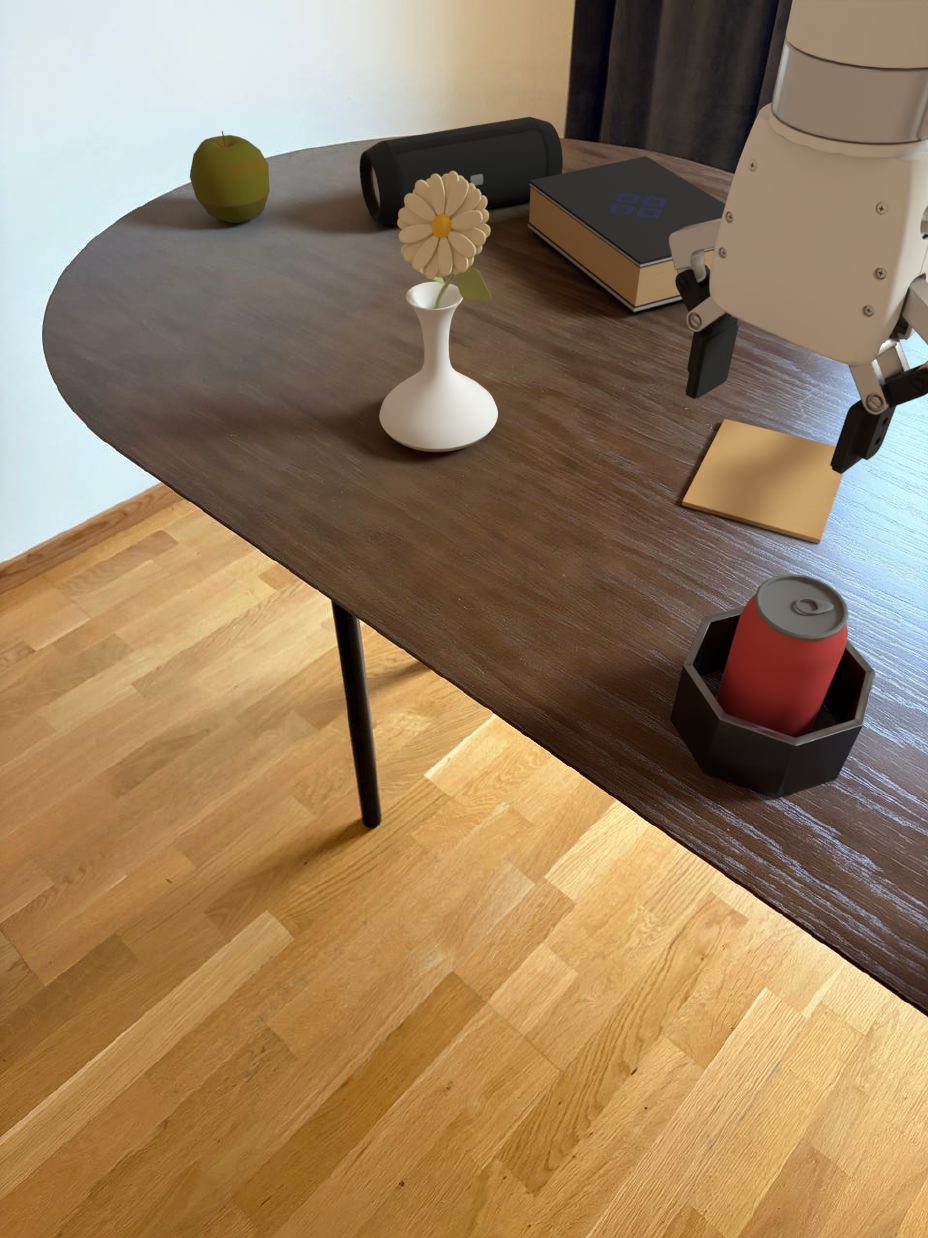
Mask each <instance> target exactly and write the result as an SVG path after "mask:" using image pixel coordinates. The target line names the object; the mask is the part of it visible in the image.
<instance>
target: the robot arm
mask: <svg viewBox="0 0 928 1238" xmlns="http://www.w3.org/2000/svg"><path fill="white" fill-rule="evenodd" d="M782 46H783V47H782V50H781V56H780V60H779V64H778V65H779V66H778V69H777V76H776V80H775V84H774V90H773V93H772V94H773V95H772V100H771V102H770V103H768V104H765V106H763V107H762V108H761V109H759V111H758V114H757V116H756V118H755V120H754V123H753V125H752V127H751V130H750V132H749V134H748V137H747V139H746V142H745V144H744V147H743V149H742V152H741V155H740V157H739V159H738V163H737V166H736V169H735V171H734V174H733V178H732V181H731V184H730V187H729V191H728V194H727V198H726V201H725V203H724V204H725V208H724V212H723V215H722V218H720V219H715V220H711V221H707V222H703V223H698V224H694V225H690V226H686V227H684V228H682V229H680V230H678V231H676V232H674V233H672V234H671V235H670V236H669V246H670V250H671V255H672V259H673V264H674V268H675V270H677V273H678V275H677V276H676V280H675V284H676V287H677V289H678V291H679V293H680V296H681V298H682V300H681V301H682V302H683V304H684V306H685V308H686V310H687V312H688V313H687V314H686V317H685V322H686V323H685V324H686V325H687V327H688V329H689V330H691V331H692V332H693V334H692V339H691V345H690V351H689V357H688V362H687V368H686V370H687V372H688V376H687V382H686V388H685V396H687V397H689V398H691V399H693V400H696V399H700V398H702V397H703V396H705V395H706V394H708V393H709V392H711V391H713V390H714V389H716V388H717V387H719V386H721V385H723V384H724V383H726V382H727V380H728V377H729V372H730V370H731V369H730V368H731V363H732V359H733V354H734V350H735V346H736V342H737V341H736V340H737V337H738V333H739V332H738V331H739V324H738V322H739V320H740V321H743V322H745V323H747V324H750V325H751V326H754V327H756V328H758V329H761V330H763V331H764V332H767V333H770V334H772V335H774V336H776V337H779V338H780V339H783V340H785V341H787V342H790V343H792V344H795V345H796V346H799V347H802V348H803V349H806V350H808V351H811V352H812V353H815V354H817V355H819V356H822V357H824V358H827V359H830V360H832V361H833V362H837V363H840V364H843V365H845V366H846V365H847V366H848V368H849V369H848V370H849V371H850V374H851V377H852V379H853V381H854V385H855V387H856V390H857V392H858V395H859V398H860V399H859V400H857V401H856V402H854V403H853V404H852V405H851V406H850V407H849V408H848V410H847V412H846V415H845V418H844V421H843V423H842V424H843V425H842V427H841V430H840V433H839V435H838V439H837V442H836V445H835V446H836V448H835V451H834V454H833V457H832V460H831V463H830V466H832V470H834V471H836V472H838V473H840V474H843V475H844V473H845V472H847V471H848V470H849V469H851V468H852V467H853V466H855V465H856V464H858V463H859V462H861V460H865V461H869V460H870V459H872V458H873V457H874V456H876V454H877V453H878V452H879V450H880V449H881V447H882V445H883V443H884V441H885V439H886V435H887V433H888V430H889V428H890V424H891V422H892V419H893V417H894V414H895V411H896V409H897V406H901V405H902V404H906V403H908V402H911V401H914V400H916V399H919V398H922V397H925V396H926V395H928V360H926V362H924V363H922V364H920V365H919V364H918V365H917V366H914V367H912V368H910V364H909V361H908V359H907V357H906V353H905V351H904V348H903V345H902V343H901V341H902V340H905V341H908V340H909V339H910V338H911V337H912V336H914V335H915V334H917V335H918V336H919V337H920V338H921V339H922V341H923V342H924V343H925V344H926V345H927V346H928V0H792V2H791V7H790V12H789V17H788V22H787V26H786V32H785V37H784V42H783V45H782ZM710 248H715V249H714V253H713V259H712V264H711V272H710V269H709V268H708V266H706V265H705V264H704V260H705V257H704V250H705V249H710Z"/></svg>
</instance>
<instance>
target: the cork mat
mask: <svg viewBox="0 0 928 1238" xmlns="http://www.w3.org/2000/svg"><path fill="white" fill-rule="evenodd" d="M835 448H836V445H833V444H829V443H826V442H825V443H824V442H820V441H818V440H817V441H816V440H813V439H808V438H804V437H801V436H796V435H793V434H788V433H785V432H780V431H776V430H772V429H768V428H764V427H760V426H755V425H752V424H748V423H744V422H739V421H737V420H732V419H728V418H723V421H722V423H721V425H720V426H719V428H718V430H717V432H716V434H715V437H714V438H713V441H712V442H711V444H710V446H709V448H708V449H707V451H706V454H705V455H704V458H703V460H702V462H701V464H700V466H699V468H698V470H697V471H696V474H695V475H694V477H693V480H692V481H691V483H690V485H689V488H688V489H687V491H686V492H685V493H686V494H685V496H684V497H683V499H682V502H681V506H683V507H685V508H686V507H687V508H690V509H694V510H697V511H701V512H703V513H707V514H712V515H715V516H717V517H721V518H726V519H729V520H733V521H736V522H740V523H743V524H747V525H750V526H753V527H758V528H761V529H764V530H768V531H772V532H776V533H778V534H783V535H786V536H790V537H793V538H796V539H799V540H800V539H801V540H804V541H808V542H810V543H814V544H818V545H819V544H821V541H822V538H823V535H824V532H825V529H826V526H827V523H828V521H829V517H830V514H831V512H832V508H833V505H834V502H835V499H836V496H837V493H838V490H839V488H840V484H841V481H842V479H843V476H844V473H843V474H840V473H838V472H836V471H834V470H832V466H830V463H831V460H832V457H833V454H834V451H835Z"/></svg>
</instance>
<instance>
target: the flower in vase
mask: <svg viewBox="0 0 928 1238" xmlns="http://www.w3.org/2000/svg"><path fill="white" fill-rule="evenodd" d="M404 203H405V207H404V208H402V209H400V211H399V213H398V216H399V219H398V222H397V224H398V225H397V227H398V228H399V229H401V230H400V232H399V233H398V240H399V242H401V243H402V244H403V245H402V246H401V248H400V254H401V255H402V256H403V260H404V261H405V262H407V263H411V265H412V269H413V270H414V271H418V272H419V273H420V274H422V275H424V276H425V278H427V279H428V280H433V281H427V282H423V283H419V284H416V285H414V286H412V287H411V288H410V289H408V290H407V292H406V294H405V300H406V302H407V303H408V304H409V306H410V307H411V308H412V309H413V310H414V312H415V313H416V316H417V318H418V320H419V325H420V328H421V333H422V339H423V349H424V350H423V351H424V353H423V354H424V357H423V365H422V367H421V369H420V370H419V371H418V372H416V373H415V374H413V375H411V376H409V377H408V378H406V379H405V380H403V381H401V382H400V383H399V384H398V385H396V386H395V387H394V388H393V389H392V390H391V391H390V392H389V393H388V394H387V395H386V396H385V398H384V399H383V402H382V404H381V407H380V410H379V418H378V419H379V422H380V425H381V427H382V428H383V430H384V431H385V432H386V434H388V436H389V437H390V438H391V439H392V440H394V441H395V442H397V443H398V444H401V445H402V446H404V447H407V448H410V449H413V450H416V451H422V452H430V453H431V452H432V453H442V452H443V453H445V452H452V451H458V450H461V449H465V448H468V447H470V446H473V445H475V444H476V443H478V442H480V441H481V440H483V439H484V438H485V437H486V436H487V435H488V434H489V433H490V431H492V429H493V428H494V427H495V425H496V423H497V421H498V418H499V417H498V416H499V411H498V407H497V405H496V402H495V399H494V398H493V396H492V394H491V393H490V392H489V391H488V390H487V389H486V388H484V387H483V385H481V384H479V382H477V381H475V380H474V379H472V378H470V377H468V376H466V375H465V374H462V373H460V372H458V371H456V370H455V369H454V368H453V366H452V364H451V360H450V350H449V349H450V348H449V347H450V346H449V343H450V341H449V340H450V329H451V324H452V320H453V316H454V314H455V312H456V309H457V308H458V307H459V305H460V304H461V303H462V302H463V299H464V300H466V301H470V302H489V301H493V296H492V294H491V291H490V290H489V288H488V287H487V284H486V282H485V280H484V277H483V276H482V274H481V272H480V271H479V269H478V268H476V267H474V266H472V265H473V264H474V261H475V258H474V257H475V256H478V255H480V254H481V253H482V252H483V251H482V250H483V246H484V245H485V243H486V240H487V238H488V237H490V235H491V226H490V225H488V224H487V222H488V221H489V219H490V213H489V211H488V209H485V208H486V206H487V198H486V197H485V196H481V192H480V190H479V189H476V187H475V185H474V184H472V183H469V184H468V182H467V180H465V179H464V177H463V176H461V175H459V176H458V174H457V173H456V172H455V171H451V172H449V174H444V175H443V176H442V177H440V176H439V175H438V174H433V175H432V176H431V177H430V178H429V179H427V180H426V181H424V180H418V181H417V182H416V184H415V189H414V190H413V194H412V193H409V194H407V195H406V196H405V198H404ZM448 276H449V277H448ZM444 277H448V278H447V280H446V281H445V282H444V279H443V278H444ZM454 279H455V282H456V285H455V284H452V282H453V280H454Z"/></svg>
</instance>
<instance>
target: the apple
mask: <svg viewBox="0 0 928 1238" xmlns="http://www.w3.org/2000/svg"><path fill="white" fill-rule="evenodd" d="M221 134H222V135H217V136H212V137H209V138H206V139H204V140H203V141H201V142H200V144H199V146H198V147H197V148H196V150H195V151H194V153H193V155H192V160H191V166H190V171H189V180H190V183H191V186H192V190H193V193H194V196H195V199H196V200H197V201H198V203H200V205H201V206H202V207H203V208H204V210H205V211H206V212H207V214H208V215H209V216H211V217H212V218H215V219H218V220H220V221H223V222H226V223H231V224H243V223H246V222H249V221H251V220H253V219H254V218H257V217H259V216H261V214H262V213H263V212H264V210H265V207H266V204H267V201H268V198H269V194H270V191H271V190H270V165H269V163H268V161H267V160H266V158H265V156H264V154H263V153H262V151H261V149H260V148H258V147H257V146H256V145H254V144H253V143H251V142H250V141H249V140H247V139H246V138H243V137H241V136H238V135H233V134H227V135H226V134H224V131H223V130H221Z"/></svg>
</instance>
